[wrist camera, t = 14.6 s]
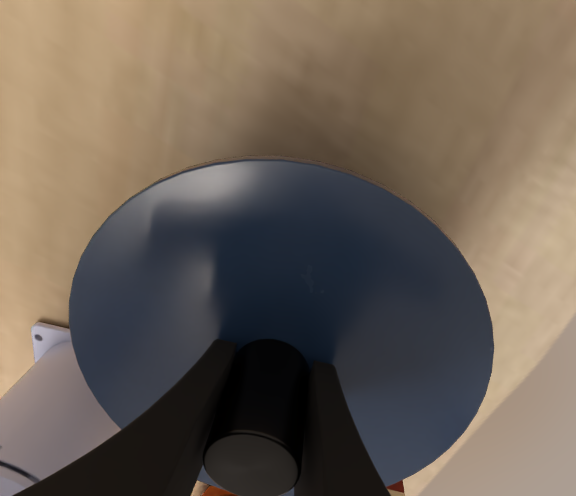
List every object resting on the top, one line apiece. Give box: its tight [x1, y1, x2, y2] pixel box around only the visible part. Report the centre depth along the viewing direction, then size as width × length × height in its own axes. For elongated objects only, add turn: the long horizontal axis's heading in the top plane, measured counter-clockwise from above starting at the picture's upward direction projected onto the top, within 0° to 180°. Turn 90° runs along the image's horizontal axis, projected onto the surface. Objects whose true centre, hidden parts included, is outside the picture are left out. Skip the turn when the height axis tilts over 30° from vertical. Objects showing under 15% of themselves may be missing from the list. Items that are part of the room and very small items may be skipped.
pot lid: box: [69, 155, 494, 496], centre depth 11 cm, size 13×13×4 cm
